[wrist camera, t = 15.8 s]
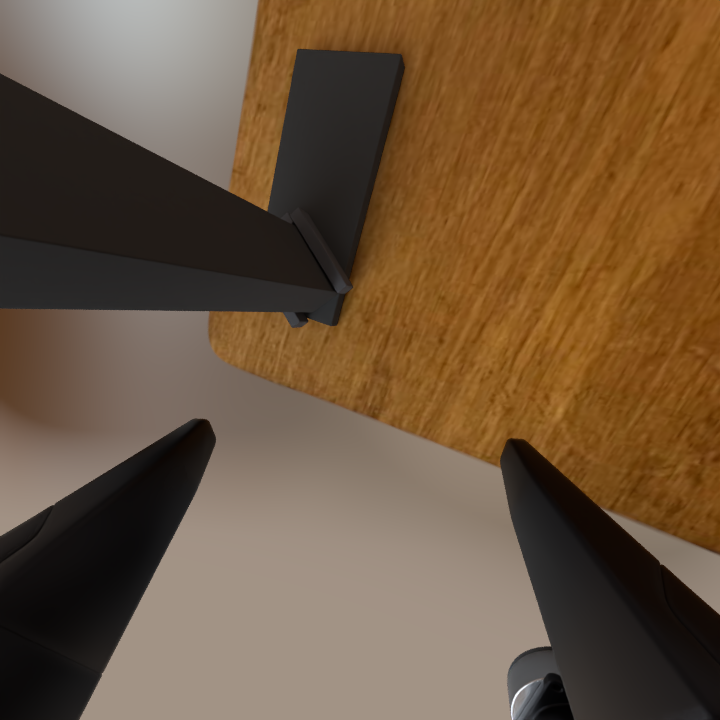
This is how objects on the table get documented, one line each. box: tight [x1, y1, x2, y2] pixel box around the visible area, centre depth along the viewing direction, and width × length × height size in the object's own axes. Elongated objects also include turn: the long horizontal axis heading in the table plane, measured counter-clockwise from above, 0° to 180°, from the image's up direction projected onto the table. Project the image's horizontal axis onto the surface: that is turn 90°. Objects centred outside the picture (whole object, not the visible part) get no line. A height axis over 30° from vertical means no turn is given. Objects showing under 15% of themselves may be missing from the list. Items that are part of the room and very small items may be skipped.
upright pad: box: [0, 74, 339, 312], centre depth 12 cm, size 5×2×18 cm, turn 32°
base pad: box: [268, 49, 405, 328], centre depth 19 cm, size 17×8×2 cm, turn 163°
